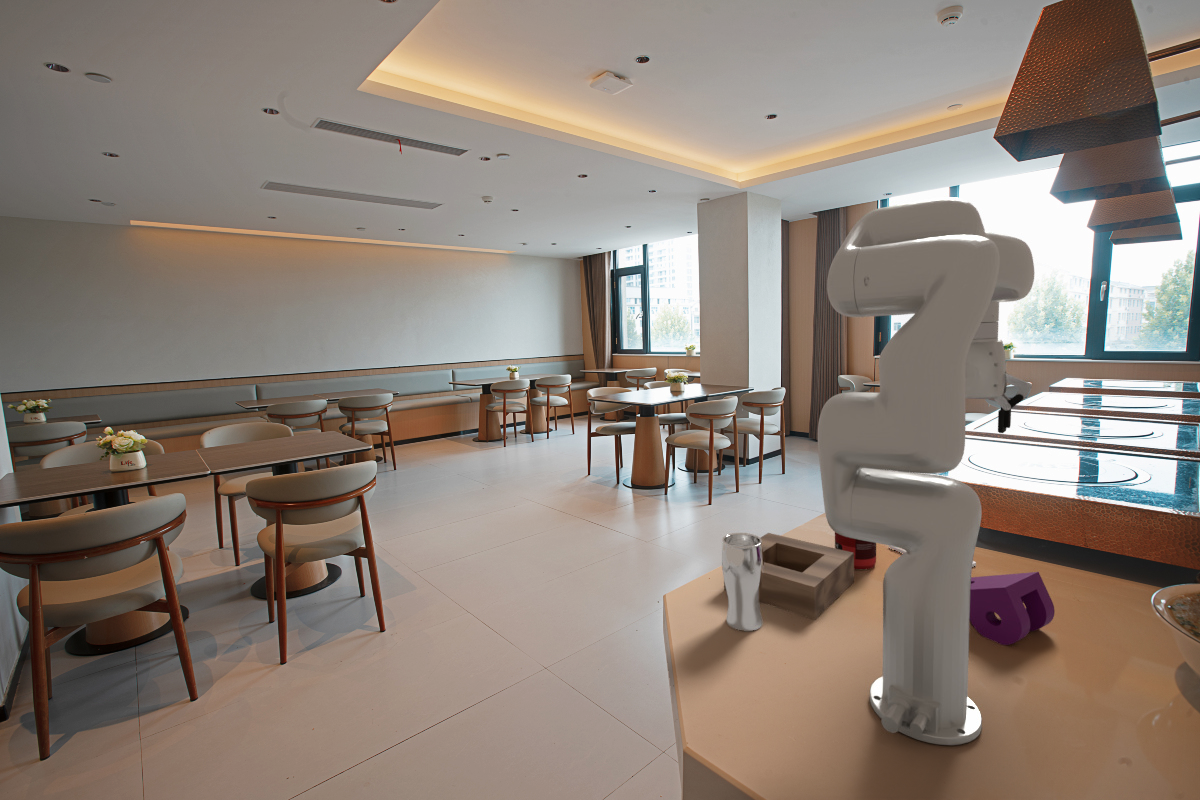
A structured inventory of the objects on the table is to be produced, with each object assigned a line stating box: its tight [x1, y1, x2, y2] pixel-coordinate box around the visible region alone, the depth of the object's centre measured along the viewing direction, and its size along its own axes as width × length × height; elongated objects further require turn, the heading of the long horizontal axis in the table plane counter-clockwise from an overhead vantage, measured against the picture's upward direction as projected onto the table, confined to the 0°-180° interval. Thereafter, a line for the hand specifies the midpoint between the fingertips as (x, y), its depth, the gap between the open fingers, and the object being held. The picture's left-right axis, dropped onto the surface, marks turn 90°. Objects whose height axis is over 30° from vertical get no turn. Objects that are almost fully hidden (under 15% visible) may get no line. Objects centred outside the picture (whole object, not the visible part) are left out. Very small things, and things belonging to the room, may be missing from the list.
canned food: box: [834, 531, 877, 570], centre depth 116 cm, size 8×8×11 cm
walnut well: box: [723, 532, 855, 621], centre depth 107 cm, size 18×18×6 cm
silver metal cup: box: [721, 532, 764, 632], centre depth 95 cm, size 7×7×15 cm
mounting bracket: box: [969, 571, 1055, 646], centre depth 92 cm, size 10×8×18 cm
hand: (969, 429), depth 99 cm, fingers open, 9 cm apart
